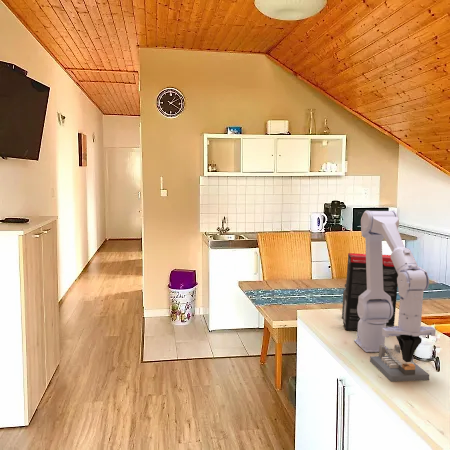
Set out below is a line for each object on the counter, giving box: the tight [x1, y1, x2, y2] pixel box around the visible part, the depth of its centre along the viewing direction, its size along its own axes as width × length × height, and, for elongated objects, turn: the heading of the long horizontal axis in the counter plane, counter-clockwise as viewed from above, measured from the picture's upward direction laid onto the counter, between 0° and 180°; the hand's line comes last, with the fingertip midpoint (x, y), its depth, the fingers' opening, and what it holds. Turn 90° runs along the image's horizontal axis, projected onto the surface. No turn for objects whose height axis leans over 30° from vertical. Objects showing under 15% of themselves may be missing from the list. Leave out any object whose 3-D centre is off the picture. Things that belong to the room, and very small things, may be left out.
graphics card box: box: [342, 252, 398, 331], centre depth 162 cm, size 17×7×27 cm, turn 84°
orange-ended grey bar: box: [385, 348, 415, 370], centre depth 131 cm, size 12×3×1 cm, turn 8°
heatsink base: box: [369, 344, 430, 383], centre depth 131 cm, size 13×11×5 cm
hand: (406, 360), depth 127 cm, fingers closed
